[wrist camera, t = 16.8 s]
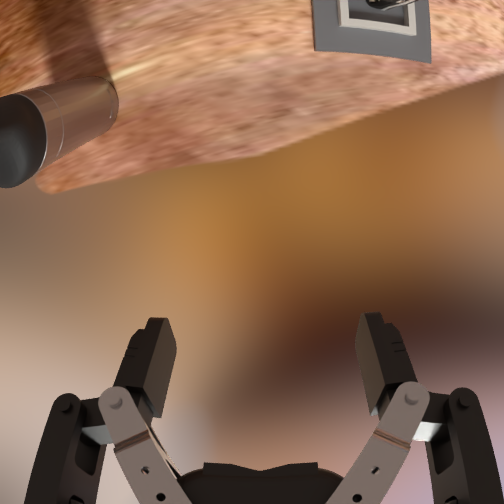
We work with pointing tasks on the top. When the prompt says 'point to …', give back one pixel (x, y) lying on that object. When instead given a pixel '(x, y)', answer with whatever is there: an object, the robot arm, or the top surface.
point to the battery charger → (388, 3)
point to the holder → (373, 29)
